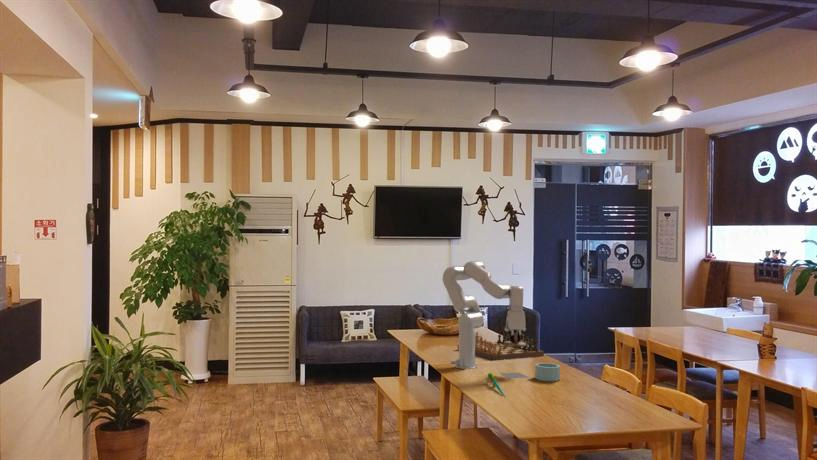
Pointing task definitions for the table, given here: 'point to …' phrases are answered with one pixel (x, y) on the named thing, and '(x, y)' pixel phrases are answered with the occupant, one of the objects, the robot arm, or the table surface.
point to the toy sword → (495, 382)
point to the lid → (515, 342)
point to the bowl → (547, 372)
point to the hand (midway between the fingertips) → (514, 341)
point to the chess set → (505, 348)
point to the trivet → (513, 375)
